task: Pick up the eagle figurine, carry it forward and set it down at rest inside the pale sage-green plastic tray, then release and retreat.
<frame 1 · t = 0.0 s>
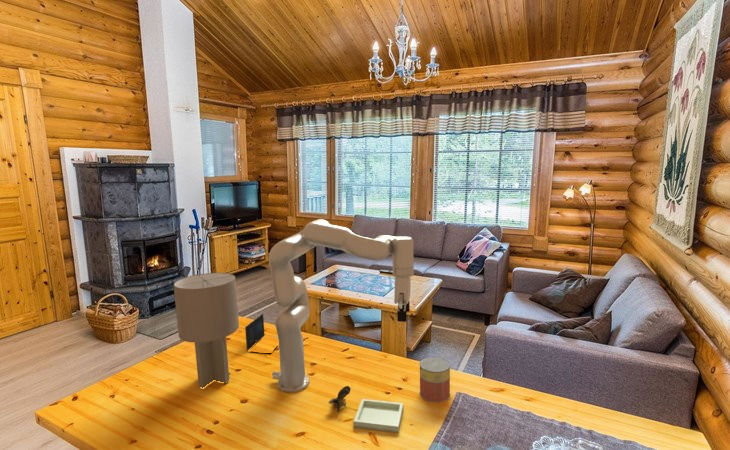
hand: (403, 316, 143), 31 cm above the table, fingers open, 9 cm apart
laptop: (267, 346, 193), on the table
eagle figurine: (340, 406, 142), on the table
canned food: (434, 394, 148), on the table
tray: (379, 417, 135), on the table
lamp: (214, 380, 162), on the table
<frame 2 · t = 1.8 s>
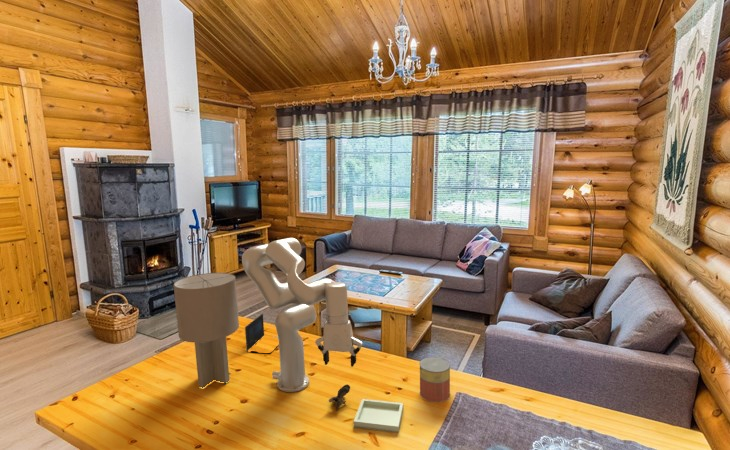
hand: (339, 363, 139), 16 cm above the table, fingers open, 9 cm apart
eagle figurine: (340, 405, 143), on the table
everything else where it was.
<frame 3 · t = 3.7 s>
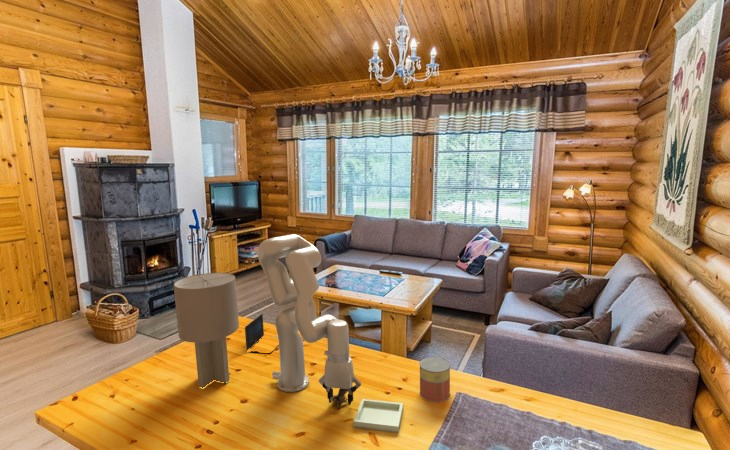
hand: (340, 401, 141), 2 cm above the table, fingers closed on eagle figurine, 6 cm apart
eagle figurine: (341, 403, 144), on the table, touching gripper
everything else where it was.
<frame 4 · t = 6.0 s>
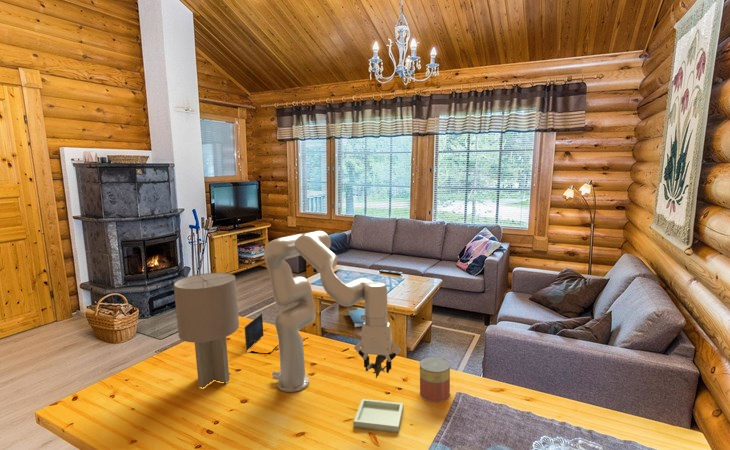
hand: (377, 369, 132), 18 cm above the table, fingers closed on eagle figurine, 6 cm apart
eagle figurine: (378, 372, 134), point 16 cm above the table, touching gripper
everything else where it was.
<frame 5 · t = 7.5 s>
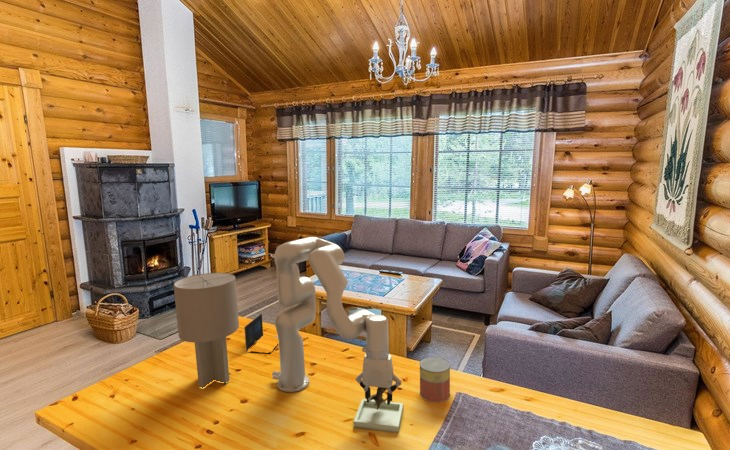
hand: (378, 400, 134), 6 cm above the table, fingers closed on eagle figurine, 6 cm apart
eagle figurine: (379, 403, 136), point 4 cm above the table, touching gripper
everything else where it was.
when the fingers open (3 cm above the table, at t = 8.7 s): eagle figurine stays where it is, resting on tray.
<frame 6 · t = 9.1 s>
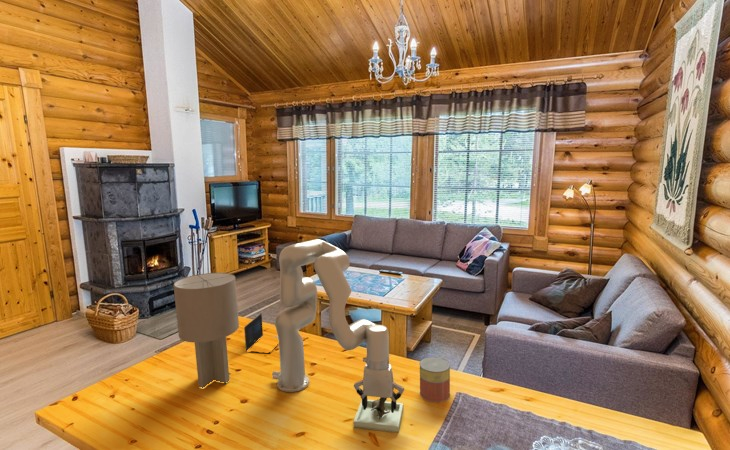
hand: (379, 408, 134), 3 cm above the table, fingers open, 9 cm apart
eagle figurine: (381, 410, 136), point 1 cm above the table, touching tray
everything else where it was.
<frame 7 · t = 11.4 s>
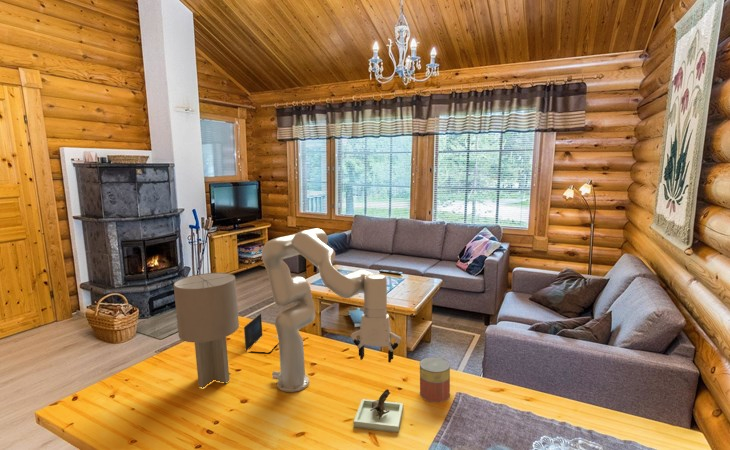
hand: (376, 359, 133), 21 cm above the table, fingers open, 9 cm apart
nothing on the table moved.
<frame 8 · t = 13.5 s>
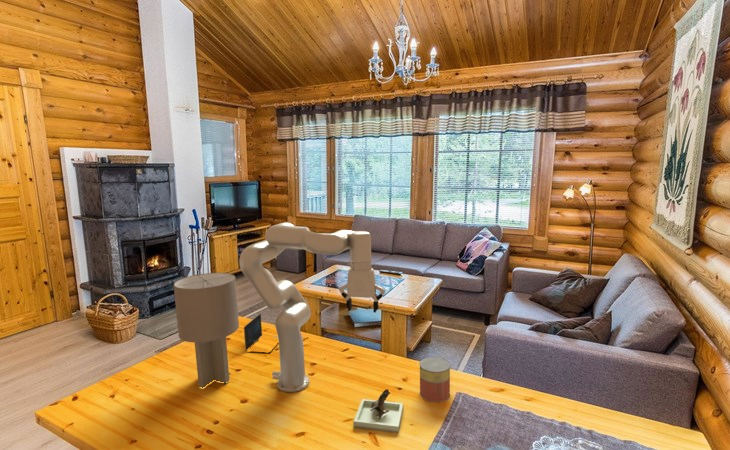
hand: (362, 310, 144), 33 cm above the table, fingers open, 9 cm apart
at the end: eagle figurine inside the target area on the tray (2.1 cm from its centre), point 1.3 cm above the tray's base; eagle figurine touching tray; the gripper is holding nothing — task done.
